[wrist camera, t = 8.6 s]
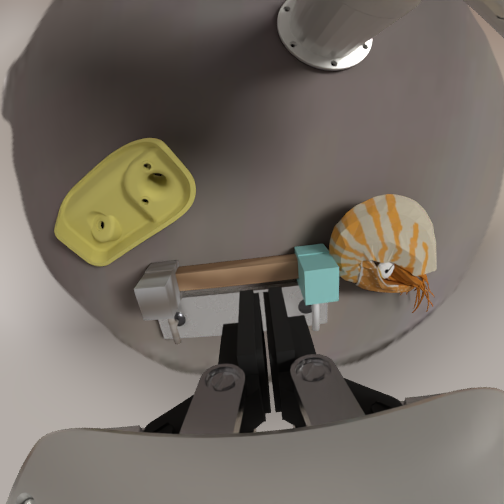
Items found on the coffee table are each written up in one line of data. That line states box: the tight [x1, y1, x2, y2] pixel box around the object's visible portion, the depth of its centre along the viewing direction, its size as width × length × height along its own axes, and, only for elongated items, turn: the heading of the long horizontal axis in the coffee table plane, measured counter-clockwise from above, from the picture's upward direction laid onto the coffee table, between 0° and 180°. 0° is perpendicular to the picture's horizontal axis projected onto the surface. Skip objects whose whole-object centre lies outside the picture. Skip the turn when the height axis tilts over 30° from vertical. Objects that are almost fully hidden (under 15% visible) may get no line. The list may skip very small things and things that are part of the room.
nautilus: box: [329, 194, 436, 313], centre depth 37 cm, size 8×22×15 cm
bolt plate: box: [158, 282, 327, 339], centre depth 42 cm, size 7×25×1 cm, turn 97°
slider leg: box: [294, 244, 339, 331], centre depth 38 cm, size 11×4×8 cm, turn 7°
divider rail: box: [134, 250, 329, 344], centre depth 38 cm, size 11×25×8 cm, turn 97°
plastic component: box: [54, 138, 196, 266], centre depth 35 cm, size 20×7×10 cm
